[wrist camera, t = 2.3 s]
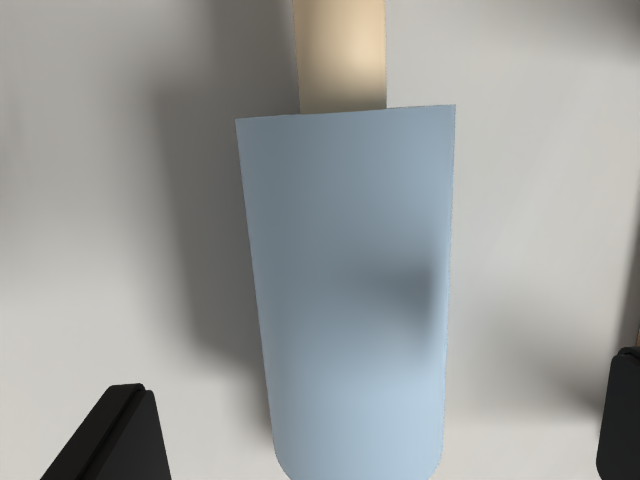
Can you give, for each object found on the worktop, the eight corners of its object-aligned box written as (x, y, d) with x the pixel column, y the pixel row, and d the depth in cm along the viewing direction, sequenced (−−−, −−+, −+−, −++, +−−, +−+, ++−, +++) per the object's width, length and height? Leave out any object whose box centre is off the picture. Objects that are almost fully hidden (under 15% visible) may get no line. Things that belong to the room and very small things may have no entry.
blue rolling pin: (247, -12, 13) (171, -99, 8) (435, -29, 13) (501, -137, 7) (294, 450, 19) (270, 596, 13) (425, 451, 19) (457, 603, 13)
